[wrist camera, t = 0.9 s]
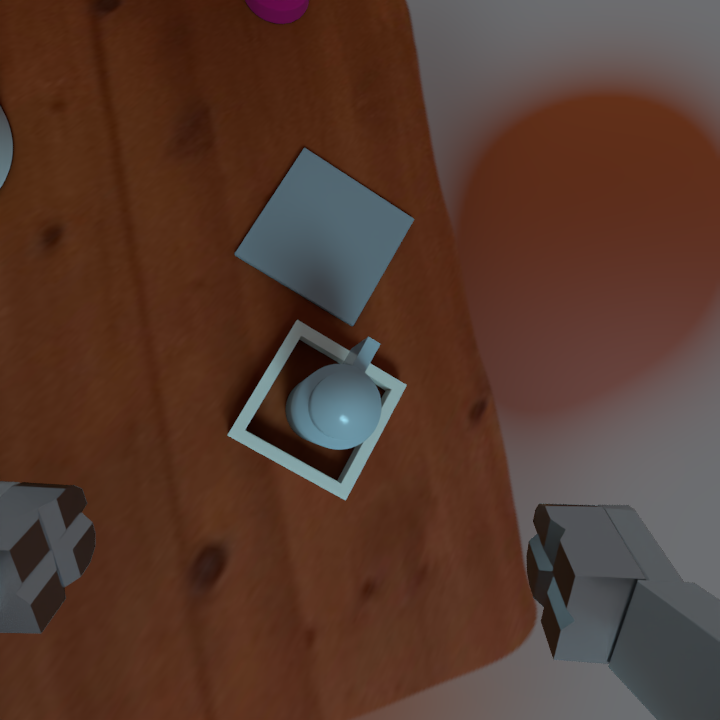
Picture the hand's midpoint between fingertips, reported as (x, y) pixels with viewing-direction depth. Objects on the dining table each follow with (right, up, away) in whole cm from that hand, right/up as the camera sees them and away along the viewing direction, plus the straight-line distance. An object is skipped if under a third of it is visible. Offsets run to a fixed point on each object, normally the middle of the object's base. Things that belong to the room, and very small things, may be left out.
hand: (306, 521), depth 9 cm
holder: (-3, -1, +34) cm, 34 cm away
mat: (-2, +14, +36) cm, 39 cm away
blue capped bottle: (-2, 0, +34) cm, 34 cm away
